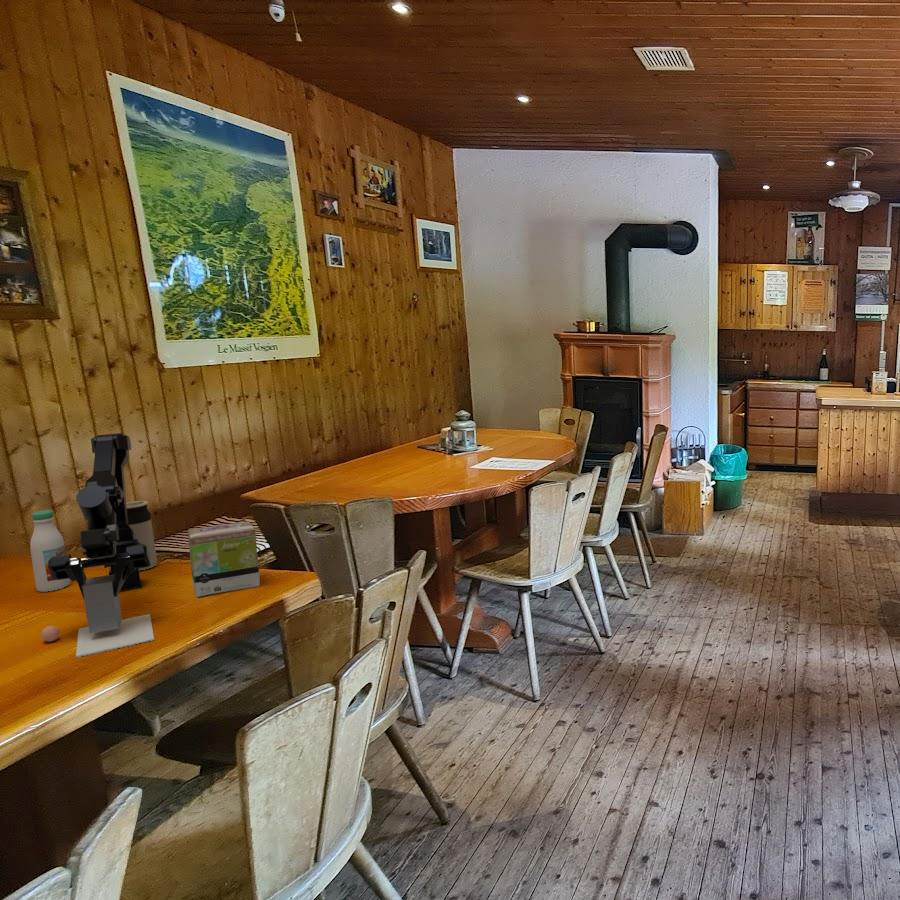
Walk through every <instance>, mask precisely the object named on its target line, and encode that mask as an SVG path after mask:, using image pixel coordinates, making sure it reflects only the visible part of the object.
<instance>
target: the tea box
mask: <svg viewBox="0 0 900 900" xmlns="http://www.w3.org/2000/svg"><path fill="white" fill-rule="evenodd" d="M187 541H188V548H189V560H190V569H191V577H192V585H193V589H194V591H195V596H196V598H200V597H204V596H207V595H214V594H218V593H219V594H220V593H225V592H232V591H238V590H243V589H245V590H246V589H250V588H259V587H260V586H261V582H260V581H261V580H260V579H261V578H260V567H259V557H258V547H257V537H256V529H255V527H254V526H253V525H252V523H251V522H250V520H247V521H241V522H240V521H239V522H233V523H226V524H219V525H218V524H217V525H213V526H212V525H211V526H206V527H205V526H203V527H198V528H191V529H190V528H189V529H187Z"/></svg>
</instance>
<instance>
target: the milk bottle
mask: <svg viewBox="0 0 900 900" xmlns="http://www.w3.org/2000/svg"><path fill="white" fill-rule="evenodd" d="M31 518H32V523H34V526H33V533H32V535H31V539H30V547H29V549H30V556H31V562H32V563H31V564H32V569H33V570H32V571H33V576H34V583H35V588H36V590H37V592H42V593H44V592H45V593H48V591H49V592H53V591H54V590H55V591H59V590H62V589H65V588H67V587H69V586H70V585H71V580H70V578H69V579H62V580H56V579H54V577H53V576H52V574H51V572H50V570H49V569H48V561H49V560H50V558H51V557H52V556H59V555H66V554H67V551H66V546H65V545H66V544H65V541H64V538H63V535H62V534H61V533H60V531H59V530H58V529H57V526H56V525H55V523H54V512H53V510H52V509H51V510H50V509H44V510H39V511H35V512H32V514H31ZM68 585H69V586H68ZM66 586H67V587H66ZM64 587H65V588H64ZM58 589H59V590H58Z"/></svg>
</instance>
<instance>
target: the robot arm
mask: <svg viewBox="0 0 900 900" xmlns="http://www.w3.org/2000/svg"><path fill="white" fill-rule="evenodd" d="M90 444H91V451H92V452H91V453H92V454H94V459H93V467H92V475H91V476H90V477H89V478H87V479H86V480H85V484H84V487H82V489H80V490H79V491H78V492H77V494H76V497H75V499H76V502H77V505H78V507H79V509H80V512H81V514H82V516H83V518H84V519H85V521H86V530H83V531H80V532H79V533H80V534H79V535H80V536H79V537H80V547H81V548H82V554H83V555H85V558H80V557H72V555H71V554H70V553H68V554H67V553H66V555H59V556H52V557H51V558H50V560H49V561H48V569H49V570H50V572H51V574H52V576H53V577H54V579H56V580H62V579H69V578H70V582H76V583H77V584H78V588H79V591H80V593H81V595H82V599H83V600H84V595H83V588H82V586H83V584H84V583H85V581H86V579H87V576H86V573H85V572H84V571H85V569H87V568H96V567H102V566H103V567H104V568H110V569H109V570H108V575H113V574H115V582H114V595H115V597H116V596H118V595H119V594H120V592H122V591H128V590H133V588H134V589H137V588H138V587H139V588H141V586H142V580H141V575H140V571H139V568H144V567H149V566H150V565H151V560H150V554H149V551H148V548H147V546H146V545H145V544H141V543H140V542H139V540H138V539H136V534H135V532H134V531H133V530H132V529H131V527H130V526H129V525H128V516H127V504H126V503H127V496H126V492H127V491H126V483H125V472H124V470H125V469H124V468H125V466H126V465H127V464H128V461H129V460H130V451H131V450H132V442H131V438H130V436H129V435H127V434H125V433H124V432H117V433H107V434H97V435H95V436H94V437H92V438H90Z"/></svg>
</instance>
